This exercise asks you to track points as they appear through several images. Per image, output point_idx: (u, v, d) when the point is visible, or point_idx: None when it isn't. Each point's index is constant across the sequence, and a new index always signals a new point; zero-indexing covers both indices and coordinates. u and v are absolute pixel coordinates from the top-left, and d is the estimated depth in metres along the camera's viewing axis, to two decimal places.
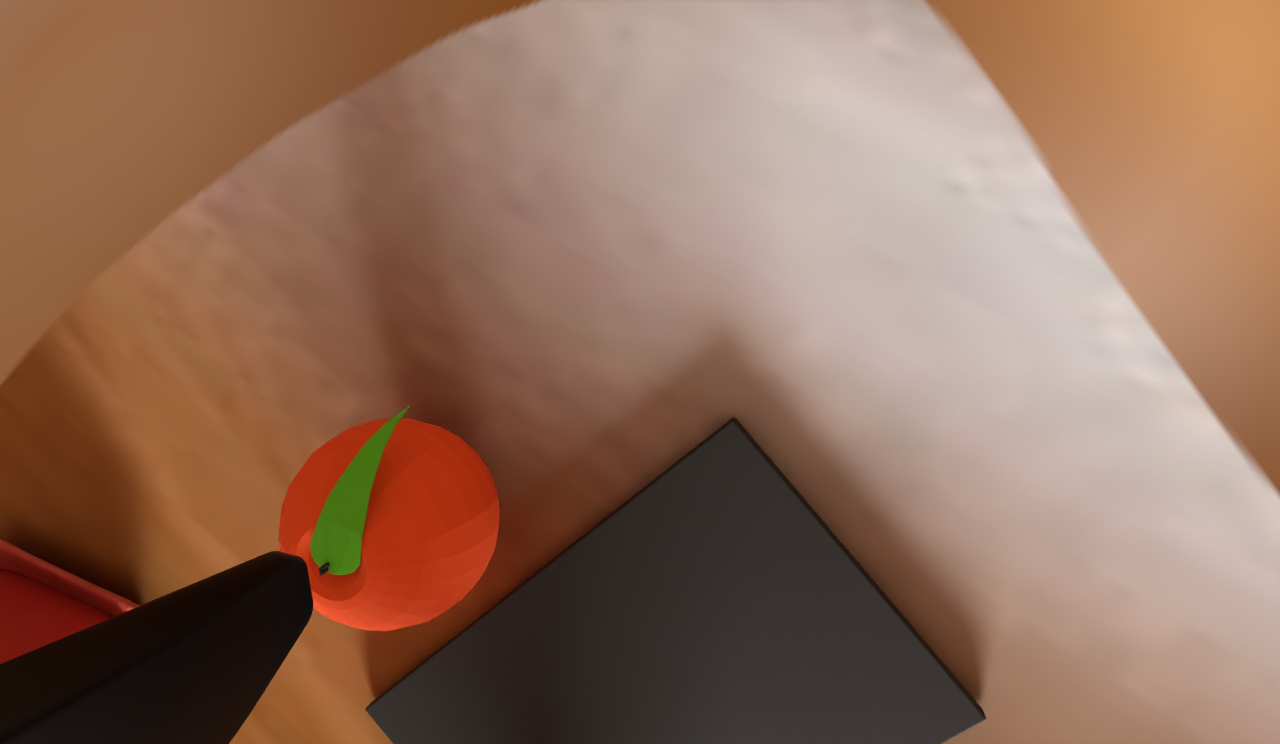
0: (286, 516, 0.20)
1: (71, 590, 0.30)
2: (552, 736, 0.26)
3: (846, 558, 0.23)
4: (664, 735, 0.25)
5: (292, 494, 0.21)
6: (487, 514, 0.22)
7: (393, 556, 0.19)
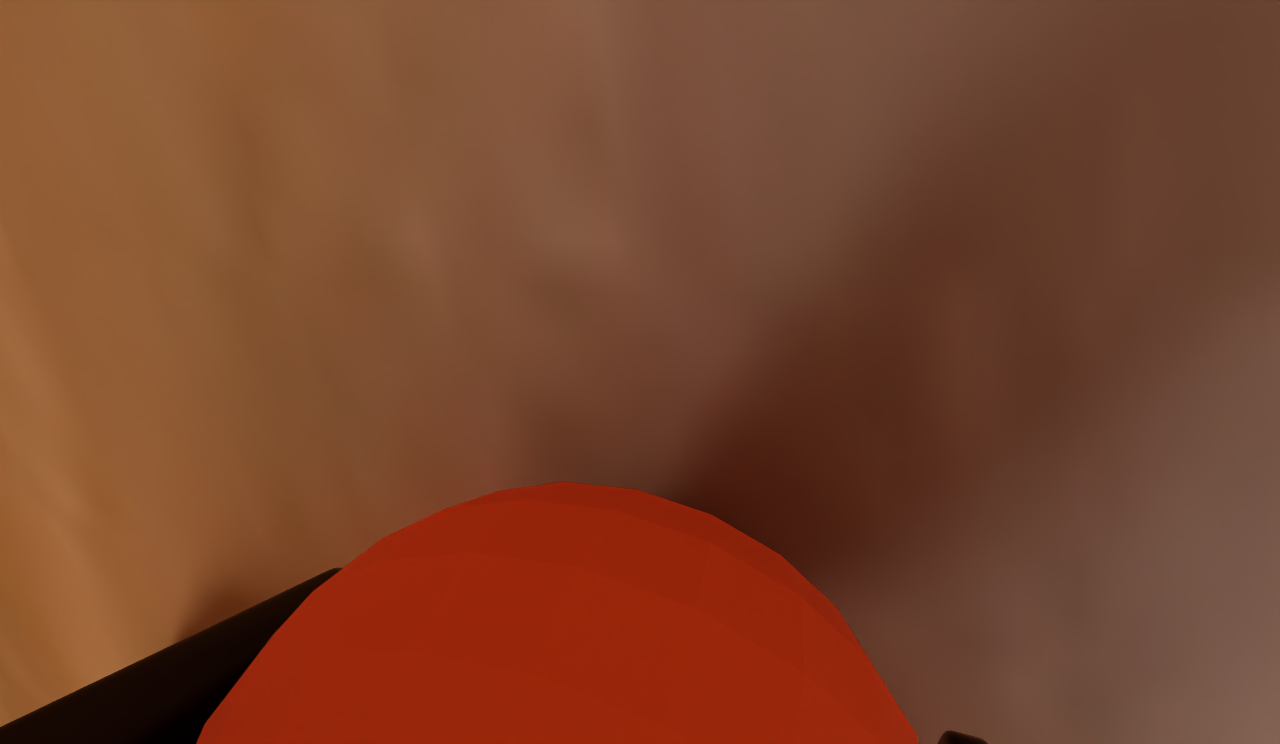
0: None
1: None
2: None
3: None
4: None
5: None
6: None
7: None
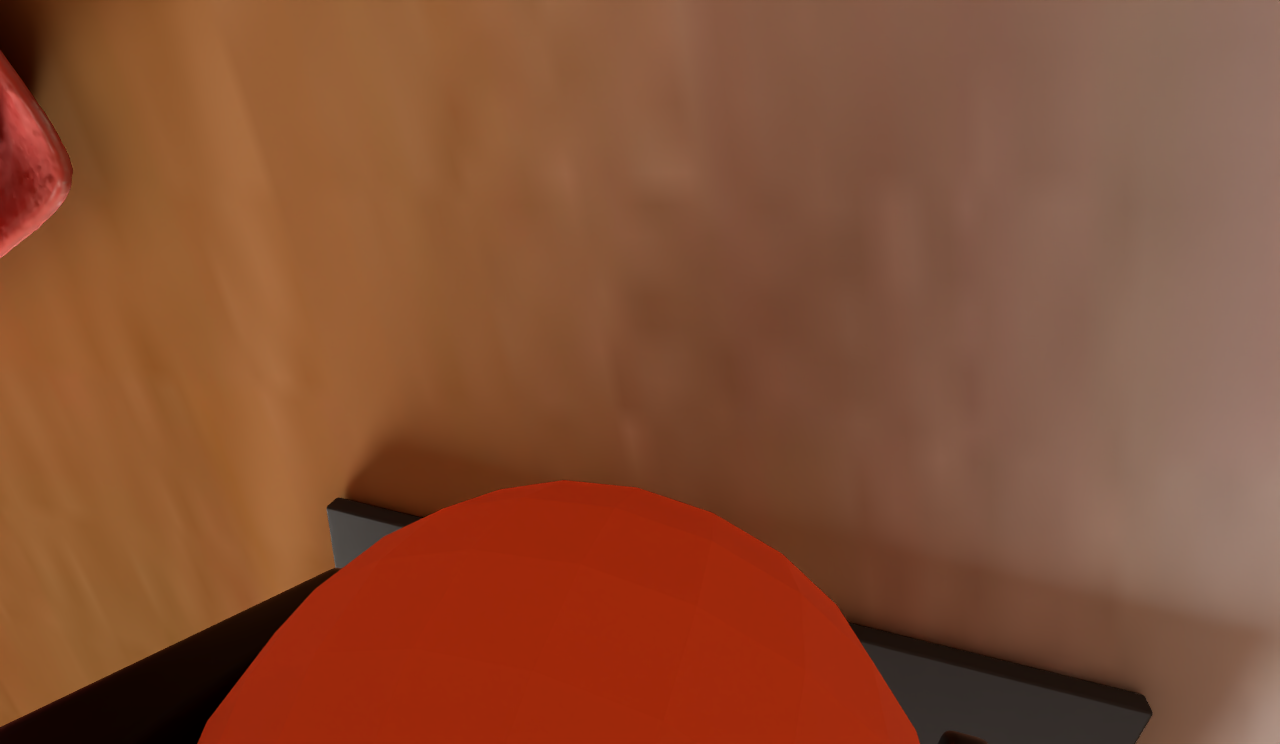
0: None
1: None
2: None
3: None
4: None
5: None
6: None
7: None
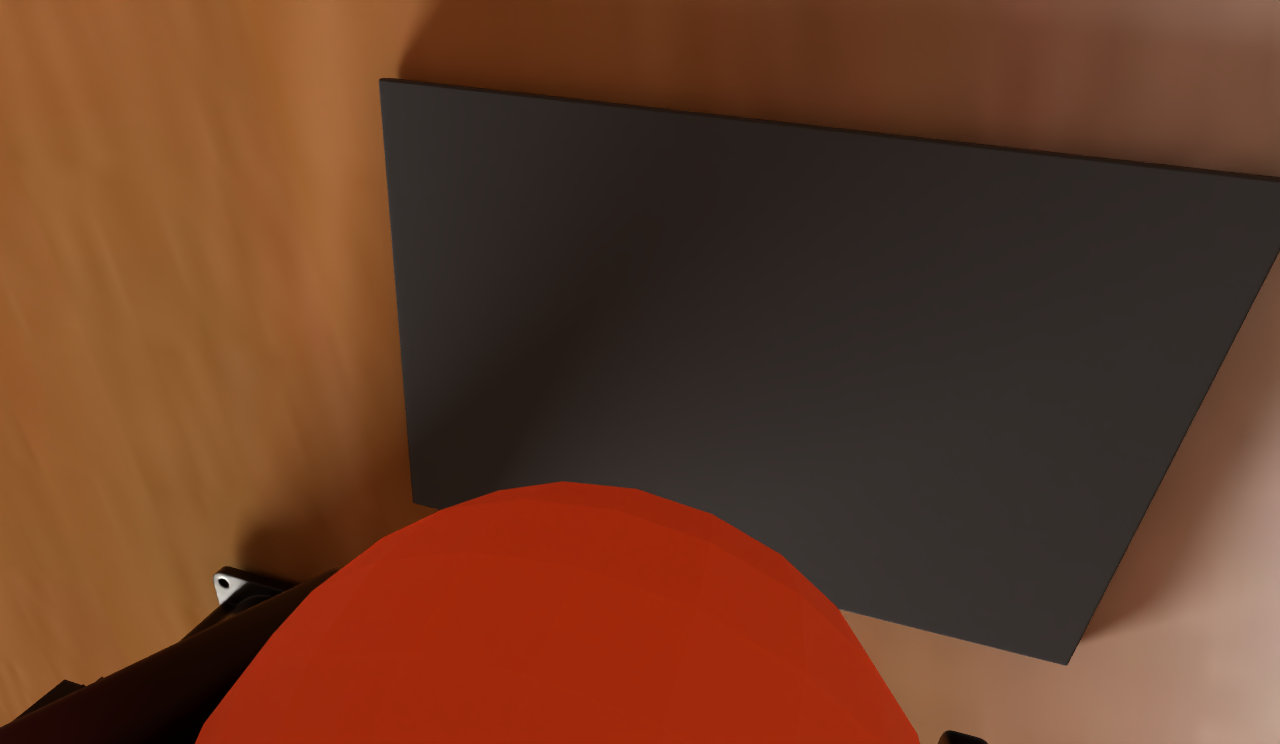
0: None
1: None
2: (608, 323, 0.18)
3: (1173, 449, 0.15)
4: (740, 427, 0.18)
5: None
6: None
7: None
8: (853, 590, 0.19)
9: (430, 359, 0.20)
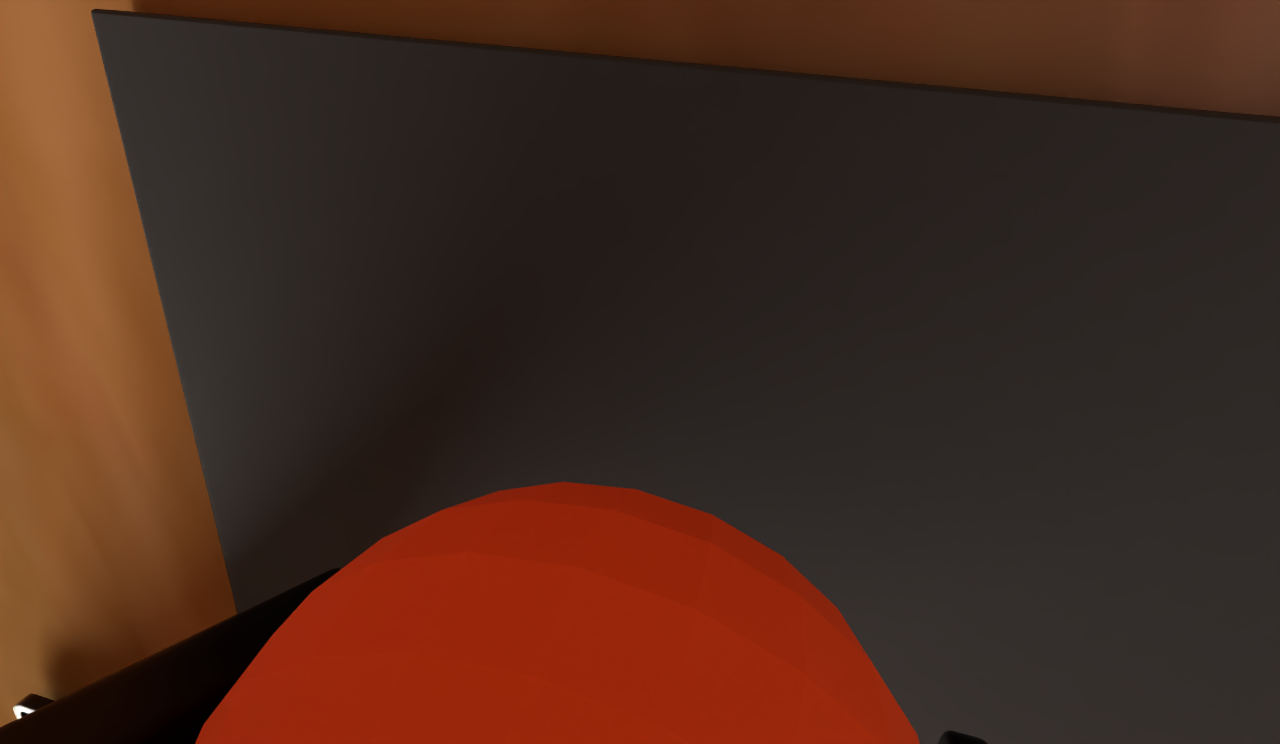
0: None
1: None
2: (484, 402, 0.11)
3: None
4: None
5: None
6: None
7: None
8: None
9: (234, 446, 0.13)
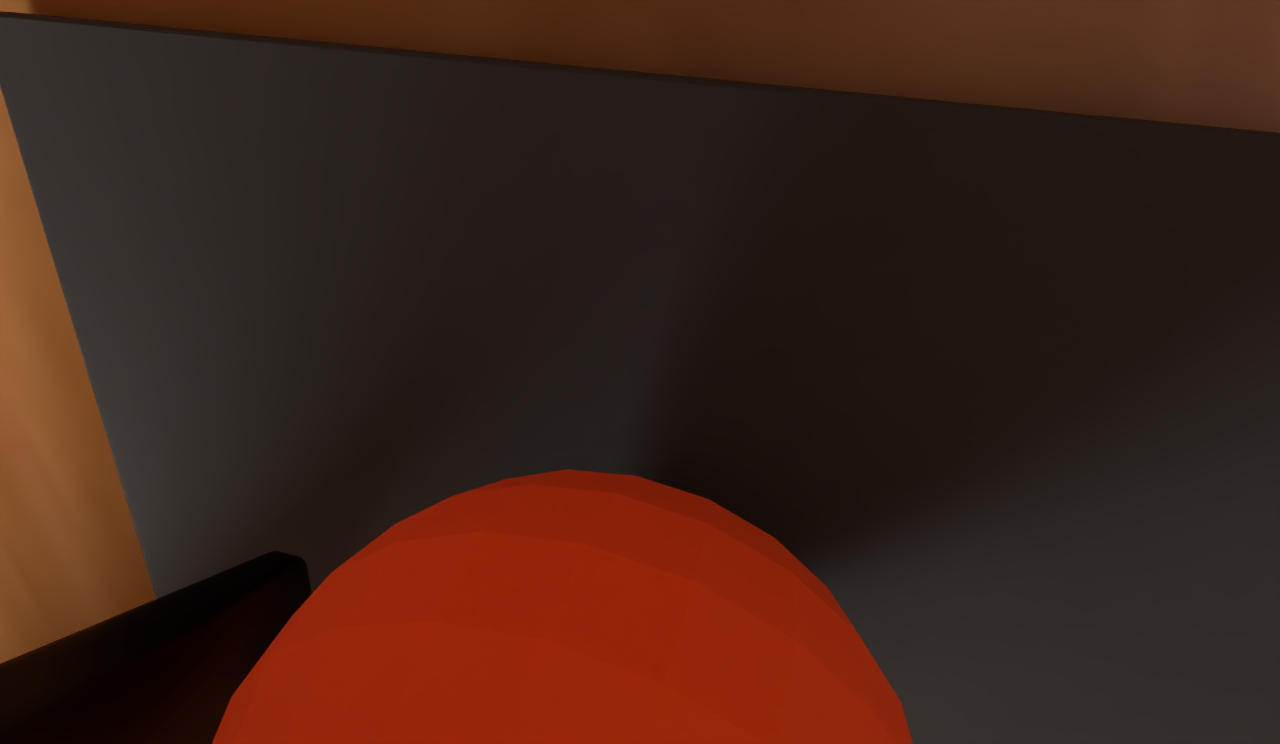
0: None
1: None
2: (432, 451, 0.10)
3: None
4: None
5: None
6: None
7: None
8: None
9: (164, 493, 0.12)
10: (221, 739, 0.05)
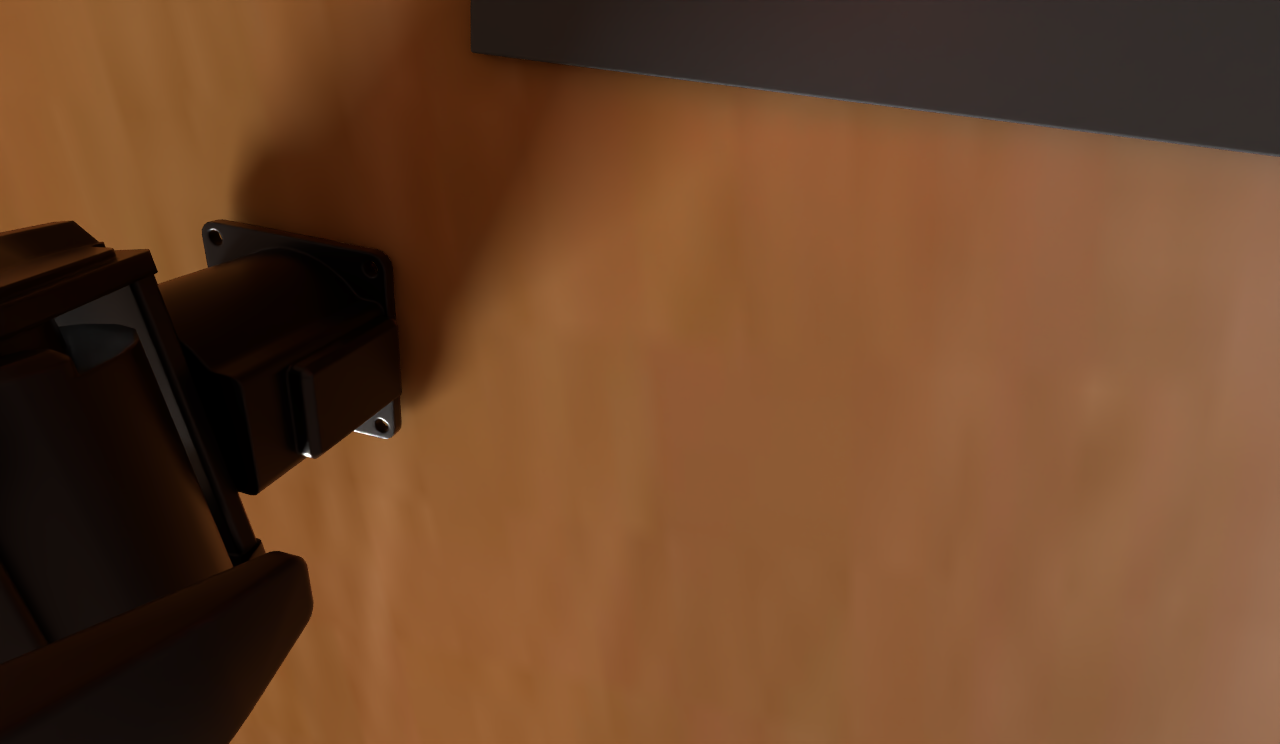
0: None
1: None
2: None
3: None
4: None
5: None
6: None
7: None
8: (1090, 88, 0.14)
9: None
10: None
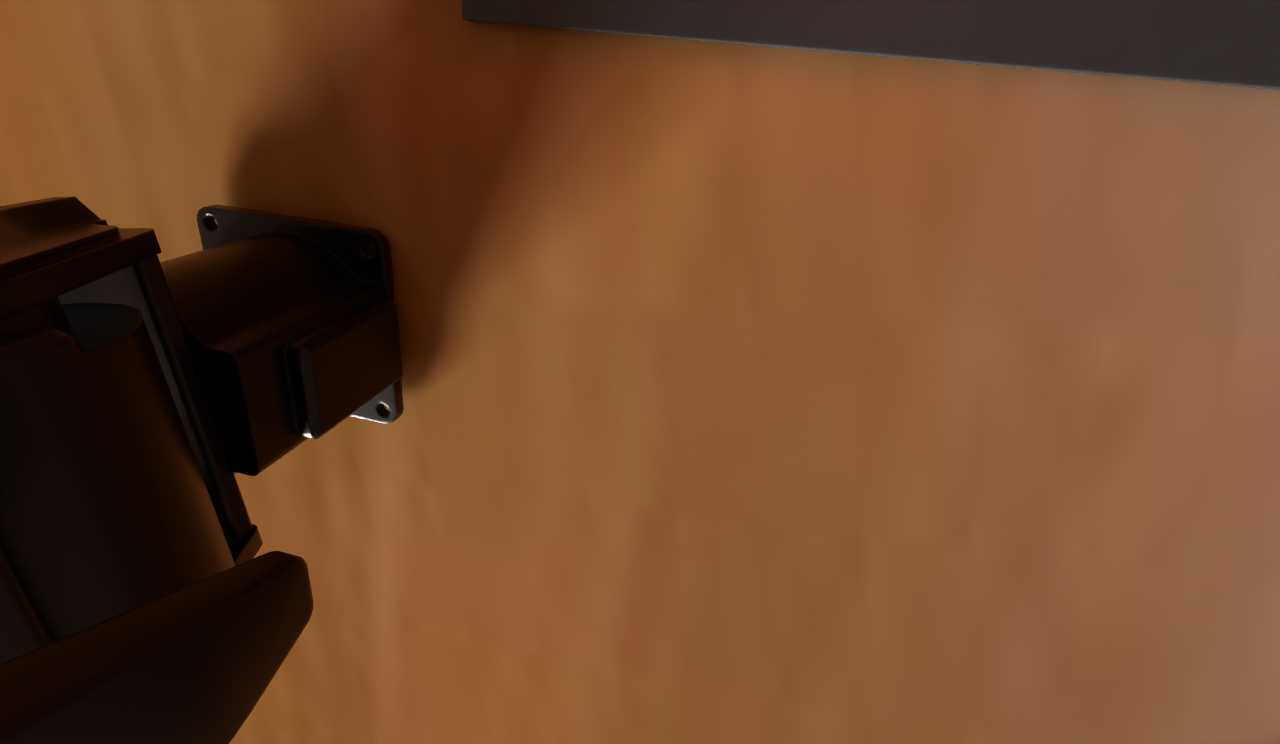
0: None
1: None
2: None
3: None
4: None
5: None
6: None
7: None
8: (1095, 27, 0.14)
9: None
10: None
